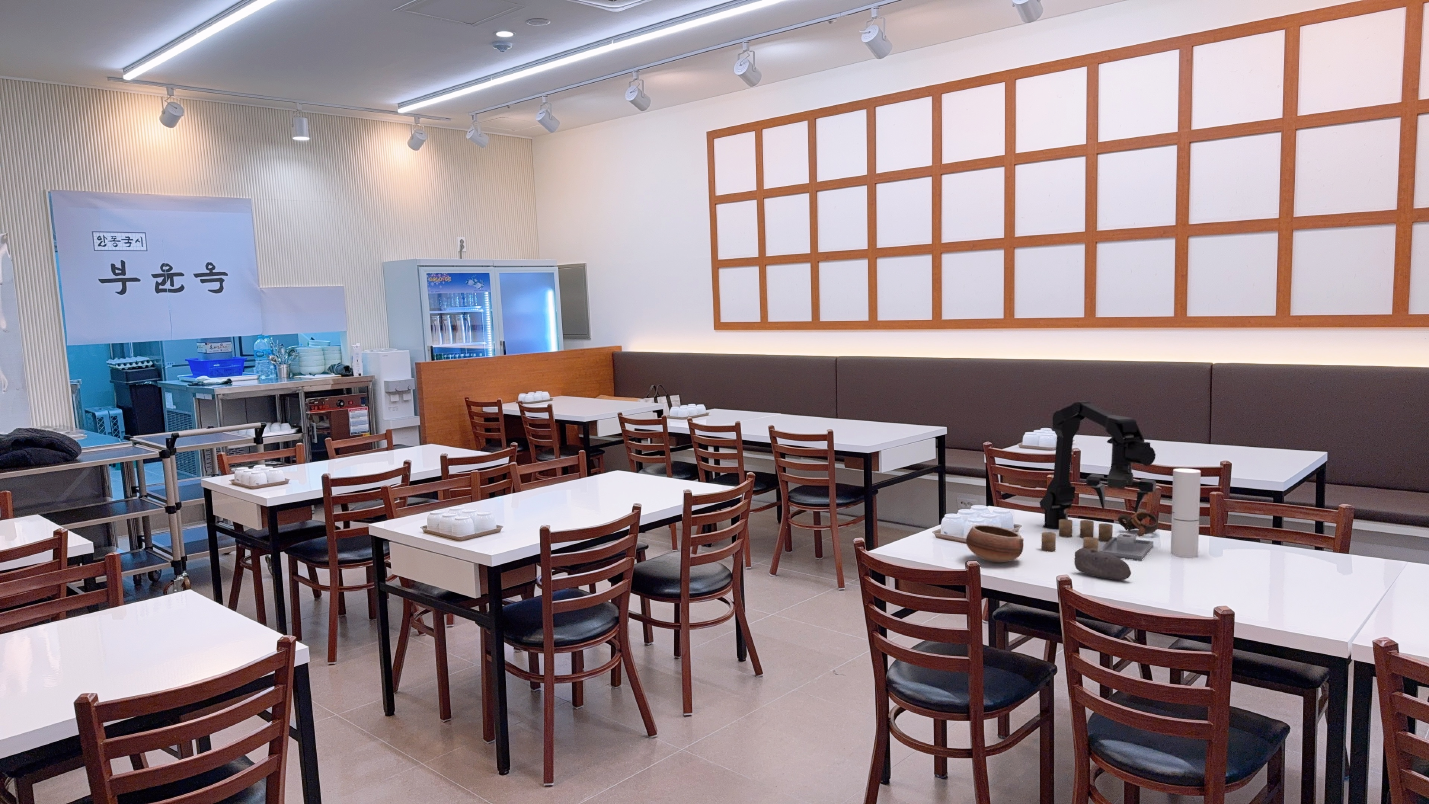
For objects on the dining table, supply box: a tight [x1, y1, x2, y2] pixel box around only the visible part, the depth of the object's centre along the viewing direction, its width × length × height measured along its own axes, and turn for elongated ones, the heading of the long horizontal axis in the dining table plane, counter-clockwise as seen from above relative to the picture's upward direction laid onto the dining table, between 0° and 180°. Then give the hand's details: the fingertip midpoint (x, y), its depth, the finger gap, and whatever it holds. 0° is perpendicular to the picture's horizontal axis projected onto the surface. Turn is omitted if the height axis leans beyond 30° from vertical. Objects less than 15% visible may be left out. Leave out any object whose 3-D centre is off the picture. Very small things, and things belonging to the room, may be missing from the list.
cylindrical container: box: [1170, 467, 1202, 559], centre depth 270 cm, size 7×7×25 cm
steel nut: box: [1116, 533, 1137, 552], centre depth 277 cm, size 4×4×4 cm
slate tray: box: [1098, 536, 1155, 562], centre depth 277 cm, size 12×20×2 cm, turn 146°
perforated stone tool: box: [1073, 547, 1132, 581], centre depth 250 cm, size 15×5×7 cm, turn 39°
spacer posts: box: [1041, 518, 1114, 553], centre depth 285 cm, size 16×26×5 cm, turn 146°
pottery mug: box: [1117, 510, 1159, 537], centre depth 297 cm, size 12×10×8 cm
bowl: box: [965, 524, 1024, 563], centre depth 268 cm, size 16×16×10 cm
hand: (1119, 510), depth 280 cm, fingers open, 9 cm apart
